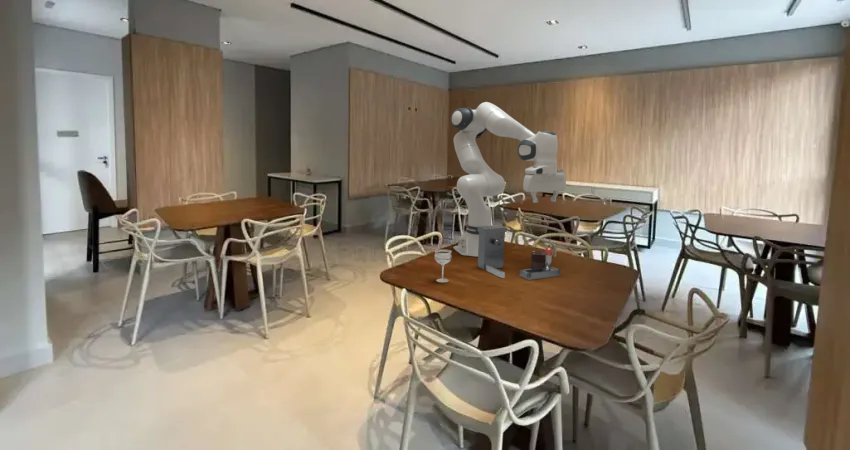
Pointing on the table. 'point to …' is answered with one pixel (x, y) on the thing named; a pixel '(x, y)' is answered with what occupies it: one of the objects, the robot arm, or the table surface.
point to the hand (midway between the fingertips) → (544, 201)
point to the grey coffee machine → (491, 249)
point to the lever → (548, 259)
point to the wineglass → (442, 260)
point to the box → (537, 259)
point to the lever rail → (539, 273)
